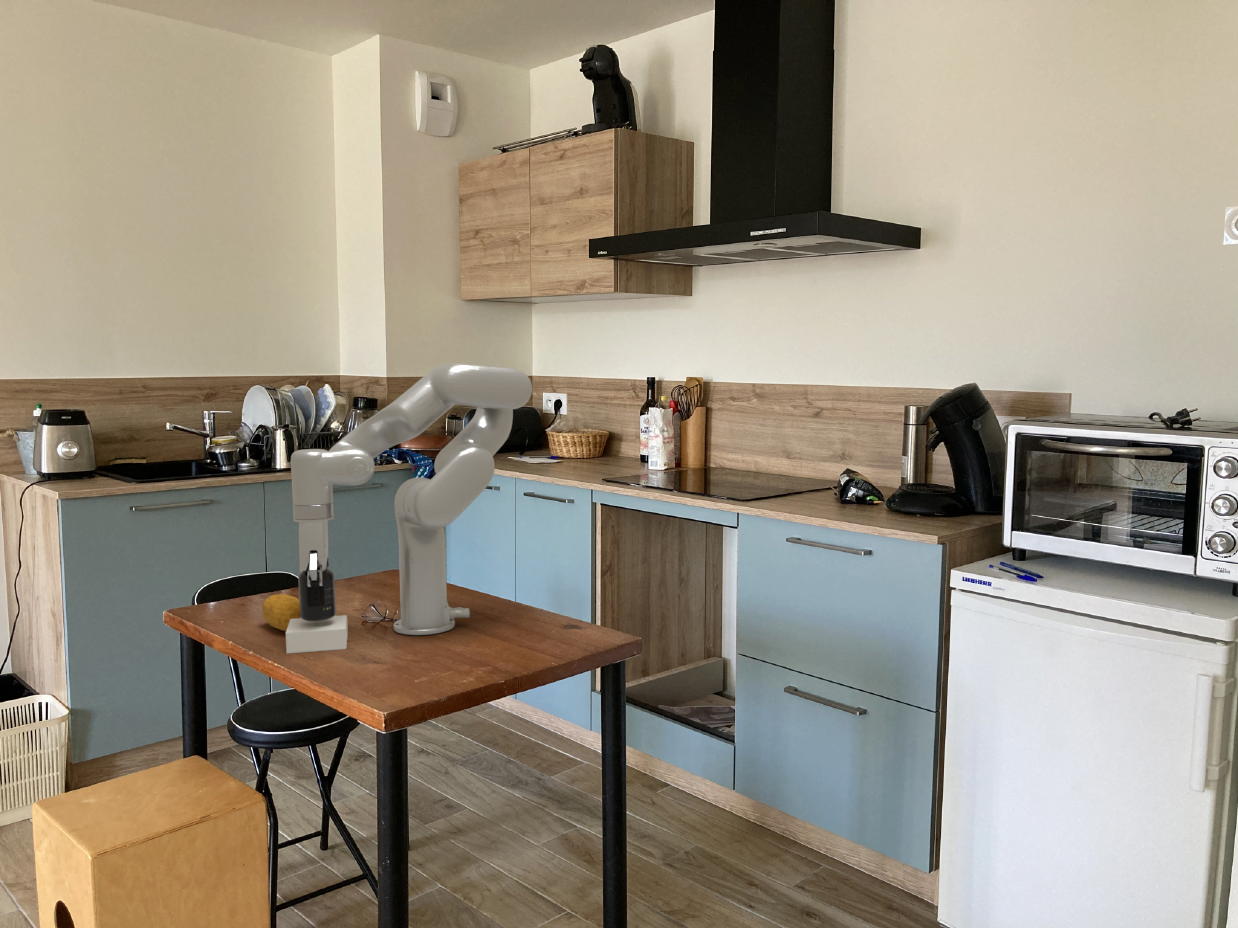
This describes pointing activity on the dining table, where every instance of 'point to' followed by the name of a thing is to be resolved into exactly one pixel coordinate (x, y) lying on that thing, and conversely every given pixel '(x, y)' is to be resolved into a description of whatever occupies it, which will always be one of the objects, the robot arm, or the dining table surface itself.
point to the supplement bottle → (329, 591)
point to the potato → (281, 610)
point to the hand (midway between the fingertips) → (317, 600)
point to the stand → (316, 635)
